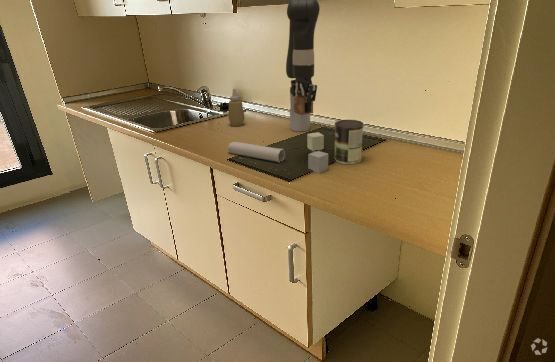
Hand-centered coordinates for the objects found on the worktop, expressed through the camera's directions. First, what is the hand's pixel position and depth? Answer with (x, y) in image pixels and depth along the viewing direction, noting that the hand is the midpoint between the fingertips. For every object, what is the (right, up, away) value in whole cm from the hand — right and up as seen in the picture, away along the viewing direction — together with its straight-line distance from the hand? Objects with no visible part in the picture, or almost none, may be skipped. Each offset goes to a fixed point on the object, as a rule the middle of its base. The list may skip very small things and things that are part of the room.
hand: (303, 110), depth 140 cm
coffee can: (+17, -18, +5) cm, 25 cm away
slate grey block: (+5, -22, -3) cm, 22 cm away
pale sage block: (+6, -12, +18) cm, 22 cm away
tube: (-18, -16, +12) cm, 27 cm away
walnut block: (0, -1, 0) cm, 1 cm away
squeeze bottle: (-30, +2, +54) cm, 62 cm away
